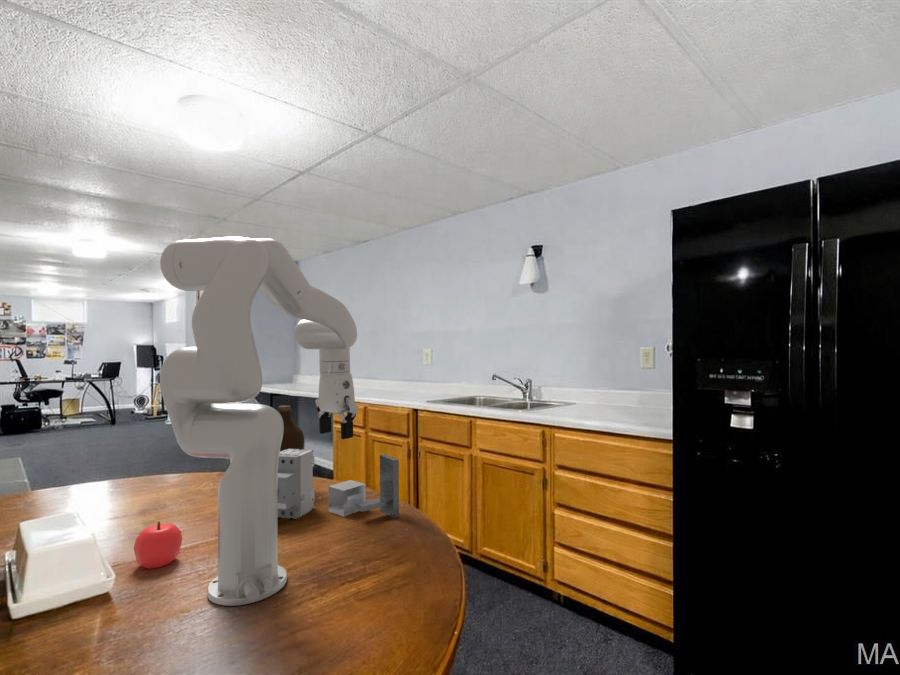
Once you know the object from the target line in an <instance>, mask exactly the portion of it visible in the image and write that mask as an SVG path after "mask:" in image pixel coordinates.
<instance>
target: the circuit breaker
mask: <svg viewBox="0 0 900 675" xmlns="http://www.w3.org/2000/svg"><path fill="white" fill-rule="evenodd" d="M314 452H315V450H314V449H305V448H304V449H302V450H300V449H288V450H283V451H281V452H280V454H279V461H278V482H277V492H278V518H279V517H281V518H280V519H290V518H293V520H298V519H300V518H301V517H303V516H304V515H306V514H307V513H309V512H311V511H312V509H315V506H314V503H315V501H316V499H315V495H316V494H315V489H314V487H313V486H314V484H313V482H314V481H313V480H314V479H313V478H314V477H313V476H314V475H313V473H314V472H313V471H314V470H313V468H314V467H315V455H314ZM302 515H303V516H302ZM299 517H300V518H299ZM297 518H298V519H297Z"/></svg>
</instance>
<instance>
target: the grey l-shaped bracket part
mask: <svg viewBox="0 0 900 675" xmlns="http://www.w3.org/2000/svg"><path fill="white" fill-rule="evenodd" d="M399 461H400V460H399V459H398V458H396V457H393V456H391V455H388V454H380V455H379V498H378V497H377V498H374V499H373V498H372V499H369V500H366V501H364V502H360V503H356V509H358V510H359V511H358V512H361V513H362V512H366V511H371V510H376V509H379V511H380V512H382V513H383V514H385V515H386V516H388V517H390V518H392V519H398V518H400V483H399V482H400V480H399V479H400V471H399V470H400V469H399V468H400V467H399V466H400V464H399V463H400V462H399Z"/></svg>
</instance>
